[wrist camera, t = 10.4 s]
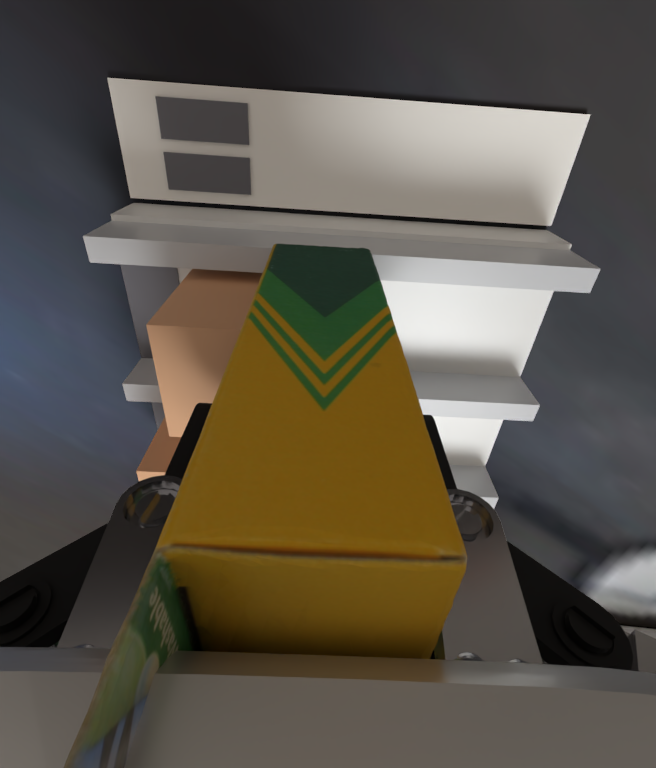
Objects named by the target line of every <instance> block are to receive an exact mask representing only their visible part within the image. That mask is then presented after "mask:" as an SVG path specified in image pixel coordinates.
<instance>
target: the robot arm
mask: <svg viewBox="0 0 656 768" xmlns="http://www.w3.org/2000/svg"><path fill="white" fill-rule="evenodd" d="M211 405H212V403H198V404H197V405H196V406H195V408H194V410H193V412H192V415H191V417H190V419H189V421H188V424H187V426H186V428H185V430H184V432H183V435H182V437H181V439H180V441H179V444H178V446H177V448H176V450H175V453H174V455H173V457H172V459H171V461H170V464H169V466H168V468H167V470H166V473H165V475H161V476H154V477H150V478H147V479H144V480H141V481H139V482H138V483H136V484H134V485H133V486H131V487H129V488H128V489H127V490H126V491H125V492H124V493H123V494H122V495H121V497H120V498H119V500H118V502H117V503H116V505H115V508H114V510H113V512H112V515H111V517H110V520H109V522H108V523H107V524H105V525H104V526H102V527H100V528H98V529H96V530H94V531H93V532H91V533H89V534H87V535H85V536H83V537H82V538H80V539H78V540H76V541H74V542H73V543H71V544H69V545H67V546H65V547H63V548H62V549H60V550H58V551H56V552H54V553H52V554H51V555H49V556H47V557H45V558H43V559H41V560H40V561H38V562H36V563H34V564H32V565H30V566H29V567H27V568H25V569H23V570H21V571H19V572H18V573H16V574H14V575H12V576H10V577H9V578H7V579H5V580H3V581H1V582H0V768H64V765H65V763H66V760H67V757H68V755H69V752H70V750H71V748H72V746H73V743H74V741H75V739H76V737H77V734H78V732H79V730H80V727H81V725H82V723H83V721H84V718H85V716H86V714H87V712H88V709H89V706H90V704H91V701H92V698H93V696H94V693H95V690H96V688H97V685H98V682H99V679H100V676H101V674H102V671H103V668H104V665H105V662H106V659H107V656H108V654H109V652H110V650H111V647H112V645H113V643H114V641H115V638H116V636H117V634H118V632H119V630H120V628H121V626H122V624H123V622H124V620H125V618H126V616H127V614H128V612H129V609H130V607H131V605H132V602H133V600H134V598H135V595H136V593H137V591H138V588H139V586H140V583H141V581H142V578H143V576H144V574H145V571H146V569H147V566H148V564H149V562H150V560H151V557H152V555H153V553H154V551H155V548H156V546H157V543H158V540H159V538H160V535H161V532H162V530H163V527H164V525H165V522H166V520H167V518H168V515H169V513H170V510H171V508H172V506H173V503H174V501H175V498H176V496H177V493H178V490H179V487H180V485H181V482H182V479H183V477H184V474H185V471H186V469H187V466H188V464H189V461H190V459H191V456H192V454H193V452H194V449H195V447H196V444H197V442H198V440H199V437H200V435H201V432H202V429H203V426H204V424H205V421H206V418H207V415H208V413H209V410H210V408H211ZM423 417H424V421H425V424H426V428H427V430H428V433H429V436H430V439H431V442H432V445H433V448H434V451H435V454H436V458H437V461H438V464H439V467H440V470H441V473H442V477H443V480H444V483H445V486H446V489H447V492H448V496H449V499H450V503H451V506H452V509H453V513H454V516H455V520H456V523H457V525H458V528H459V531H460V534H461V537H462V540H463V543H464V546H465V550H466V554H467V565H466V572H465V574H464V576H463V579H462V581H461V583H460V586H459V589H458V591H457V593H456V595H455V598H454V601H453V605H452V608H451V610H450V612H449V614H448V616H447V618H446V620H445V623H444V626H443V629H442V631H441V633H440V635H439V638H438V641H437V644H436V646H435V648H434V650H433V652H432V654H431V657H430V659H412V658H386V657H358V656H329V655H300V654H270V653H240V652H208V651H175V652H174V653H173V654H172V655H171V656H170V657H168V658H167V660H166V661H165V662H164V663H163V665H162V666H161V667H160V668H159V669H158V671H157V672H156V673H155V675H154V678H153V681H152V684H151V687H150V690H149V693H148V696H147V699H146V702H145V705H144V709H143V712H142V715H141V718H140V721H139V724H138V727H137V730H136V733H135V736H134V739H133V742H132V745H131V748H130V751H129V754H128V757H127V761H126V764H125V767H124V768H656V639H655V638H653V637H651V636H649V635H647V634H644V633H642V632H640V631H638V630H636V629H634V630H633V631H632V632H631V633H628V632H626V631H624V630H623V628H622V627H621V626H620V624H619V623H618V622H617V621H616V620H615V619H614V617H613V616H612V615H611V614H610V613H609V612H607V611H606V610H605V609H604V608H603V607H601V606H600V605H599V604H598V603H596V602H595V601H593V600H592V599H590V598H589V597H587V596H586V595H585V594H583V593H582V592H580V591H579V590H577V589H576V588H574V587H573V586H572V585H570V584H569V583H567V582H566V581H564V580H563V579H561V578H560V577H558V576H557V575H556V574H554V573H553V572H551V571H550V570H548V569H547V568H545V567H544V566H542V565H541V564H540V563H538V562H537V561H535V560H534V559H532V558H531V557H529V556H528V555H527V554H525V553H524V552H522V551H521V550H519V549H518V548H516V547H515V546H513V545H512V544H511V543H509V542H508V541H506V537H505V534H504V531H503V527H502V524H501V521H500V519H499V517H498V515H497V512H496V511H495V510H494V509H493V508H492V506H491V505H490V504H489V503H488V502H486V501H485V500H484V499H482V498H481V497H480V496H477V495H475V494H473V493H471V492H469V491H464V490H460V489H457V487H456V484H455V481H454V478H453V475H452V471H451V468H450V465H449V462H448V459H447V456H446V453H445V450H444V447H443V444H442V441H441V438H440V435H439V432H438V429H437V426H436V423H435V420H434V418H433V416H432V415H423Z"/></svg>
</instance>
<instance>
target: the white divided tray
mask: <svg viewBox="0 0 656 768" xmlns="http://www.w3.org/2000/svg"><path fill="white" fill-rule="evenodd" d="M107 79H108V85H109V90H110V95H111V100H112V105H113V110H114V116H115V121H116V126H117V131H118V136H119V141H120V147H121V152H122V157H123V162H124V167H125V172H126V177H127V183H128V188H129V193H130V198H138V199H153V200H168V201H183V202H198V203H213V204H228V205H243V206H258V207H273V208H288V209H303V210H318V211H333V212H348V213H363V214H378V215H393V216H408V217H423V218H438V219H453V220H468V221H483V222H498V223H513V224H528V225H543V226H551V225H552V222H553V219H554V216H555V214H556V211H557V208H558V205H559V202H560V200H561V197H562V194H563V191H564V188H565V185H566V183H567V180H568V177H569V174H570V171H571V168H572V166H573V163H574V160H575V157H576V154H577V152H578V149H579V146H580V143H581V140H582V137H583V135H584V132H585V129H586V126H587V123H588V121H589V118H590V115H589V114H576V113H563V112H550V111H537V110H524V109H511V108H498V107H485V106H471V105H458V104H445V103H432V102H419V101H406V100H393V99H380V98H367V97H354V96H341V95H328V94H315V93H302V92H289V91H276V90H262V89H249V88H236V87H223V86H210V85H197V84H184V83H171V82H158V81H145V80H132V79H119V78H107ZM111 219H112V221H110V222H108V223H106V224H105V225H103V226H101V227H99V228H97V229H95V230H93V231H92V232H90V233H88V234H86V235H84V236H83V238H84V242H85V246H86V250H87V253H88V257H89V261H90V262H91V263H107V264H120V265H121V270H122V274H123V278H124V283H125V287H126V292H127V296H128V301H129V305H130V309H131V314H132V318H133V323H134V327H135V332H136V336H137V340H138V345H139V349H140V354H141V359H140V361H139V362H138V363H137V365H136V366H135V367H134V369H133V370H132V371H131V373H130V374H129V376H128V377H127V378H126V380H125V381H124V382H123V388H124V392H125V396H126V399H127V401H139V402H152V407H153V411H154V416H155V420H156V425H157V429H159V427H160V425H161V423H162V421H163V419H164V417H165V413H164V409H163V404H162V399H161V394H160V389H159V384H158V380H157V375H156V370H155V365H154V360H153V355H152V351H151V346H150V341H149V336H148V331H147V326H146V324H147V323H148V322H149V321H150V319H151V318H152V317H153V316H154V315H155V313H156V312H157V311H158V310H159V309H160V307H161V306H162V305H163V304H164V303H165V301H166V300H167V299H168V298H169V296H170V295H171V294H172V293H173V292H174V290H175V289H176V288H177V287H178V286H179V284H180V283H181V282H182V281H183V280H184V278H185V277H186V276H187V275H188V273H189V272H190V271H191V270H192V269H205V270H222V271H238V272H255V273H263V271H264V269H265V266H266V263H267V261H268V258H269V255H270V252H271V250H272V247H273V245H274V244H295V245H314V246H328V247H343V248H366V249H369V250H370V251H371V254H372V257H373V260H374V263H375V266H376V268H377V271H378V274H379V277H380V281H381V283H382V286H383V290H384V293H385V296H386V299H387V303H388V306H389V308H390V311H391V315H392V318H393V322H394V324H395V327H396V331H397V334H398V337H399V340H400V342H401V345H402V348H403V353H404V356H405V358H406V361H407V364H408V367H409V371H410V374H411V378H412V381H413V384H414V387H415V390H416V393H417V397H418V399H419V403H420V406H421V410H422V413H423V415H432V416H433V418H434V420H435V423H436V426H437V429H438V432H439V435H440V438H441V441H442V444H443V447H444V450H445V453H446V456H447V459H448V462H449V465H450V468H451V471H452V475H453V478H454V481H455V484H456V487H457V489H460V490H464V491H469V492H471V493H473V494H475V495H477V496H480V497H481V498H482V499H484V500H485V501H486V502H488V503H489V504H490V505H491V506H492V508H493V509H494V507H495V505H496V503H497V501H498V498H499V497H498V495H497V493H496V490H495V488H494V486H493V484H492V481H491V479H490V477H489V474H488V472H487V470H486V467H485V465H486V463H487V460H488V458H489V455H490V452H491V450H492V447H493V445H494V442H495V440H496V437H497V435H498V432H499V429H500V427H501V424H502V422H503V420H520V421H533V420H534V417H535V415H536V413H537V411H538V408H539V406H540V405H539V403H538V402H537V400H536V399H535V398H534V396H533V395H532V393H531V392H530V390H529V389H528V388H527V386H526V385H525V383H524V382H523V380H522V379H521V378H520V376H521V373H522V371H523V368H524V366H525V363H526V361H527V358H528V355H529V353H530V350H531V348H532V345H533V343H534V340H535V338H536V335H537V332H538V330H539V327H540V325H541V322H542V320H543V317H544V315H545V312H546V309H547V307H548V304H549V302H550V299H551V297H552V294H553V292H554V291H565V292H582V293H590V292H591V289H592V287H593V285H594V283H595V280H596V278H597V276H598V274H599V271H600V268H598V267H597V266H595V265H593V264H592V263H590V262H588V261H587V260H585V259H583V258H582V257H580V256H578V255H577V254H575V253H574V252H572V251H570V248H571V246H572V244H570V243H569V242H567V241H565V240H563V239H562V238H560V237H558V236H556V235H555V234H553V233H551V232H549V231H548V230H538V229H523V228H508V227H493V226H478V225H463V224H448V223H433V222H418V221H402V220H387V219H372V218H357V217H342V216H327V215H312V214H297V213H282V212H267V211H252V210H237V209H222V208H207V207H191V206H176V205H161V204H146V203H132V204H130V205H128V206H126V207H124V208H122V209H120V210H118V211H116V212H114V213H112V214H111Z"/></svg>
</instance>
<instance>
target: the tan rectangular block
mask: <svg viewBox="0 0 656 768" xmlns="http://www.w3.org/2000/svg"><path fill="white" fill-rule="evenodd" d="M261 276H262V273H255V272H238V271H222V270H205V269H192V270H191V271H190V272H189V273H188V275H187V276H186V277H185V278H184V280H183V281H182V282H181V283H180V284H179V286H178V287H177V288H176V289H175V290H174V292H173V293H172V294H171V295H170V296H169V298H168V299H167V300H166V301H165V303H164V304H163V305H162V306H161V307H160V309H159V310H158V311H157V312H156V313H155V315H154V316H153V317H152V318H151V319H150V321H149V322H148V323H147V324H146V326H147V331H148V336H149V341H150V346H151V351H152V355H153V360H154V365H155V370H156V375H157V380H158V384H159V389H160V394H161V399H162V404H163V409H164V413H165V418H166V423H167V428H168V433H169V436H170V437H182V435H183V432H184V430H185V428H186V426H187V424H188V421H189V419H190V417H191V415H192V412H193V410H194V408H195V406H196V405H197V404H198V403H213V400H214V398H215V395H216V393H217V390H218V388H219V385H220V382H221V380H222V377H223V375H224V372H225V369H226V367H227V364H228V362H229V359H230V357H231V354H232V351H233V349H234V346H235V344H236V342H237V339H238V336H239V333H240V331H241V329H242V326H243V324H244V321H245V319H246V316H247V313H248V311H249V308H250V305H251V303H252V300H253V297H254V294H255V291H256V289H257V286H258V284H259V281H260V278H261Z"/></svg>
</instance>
